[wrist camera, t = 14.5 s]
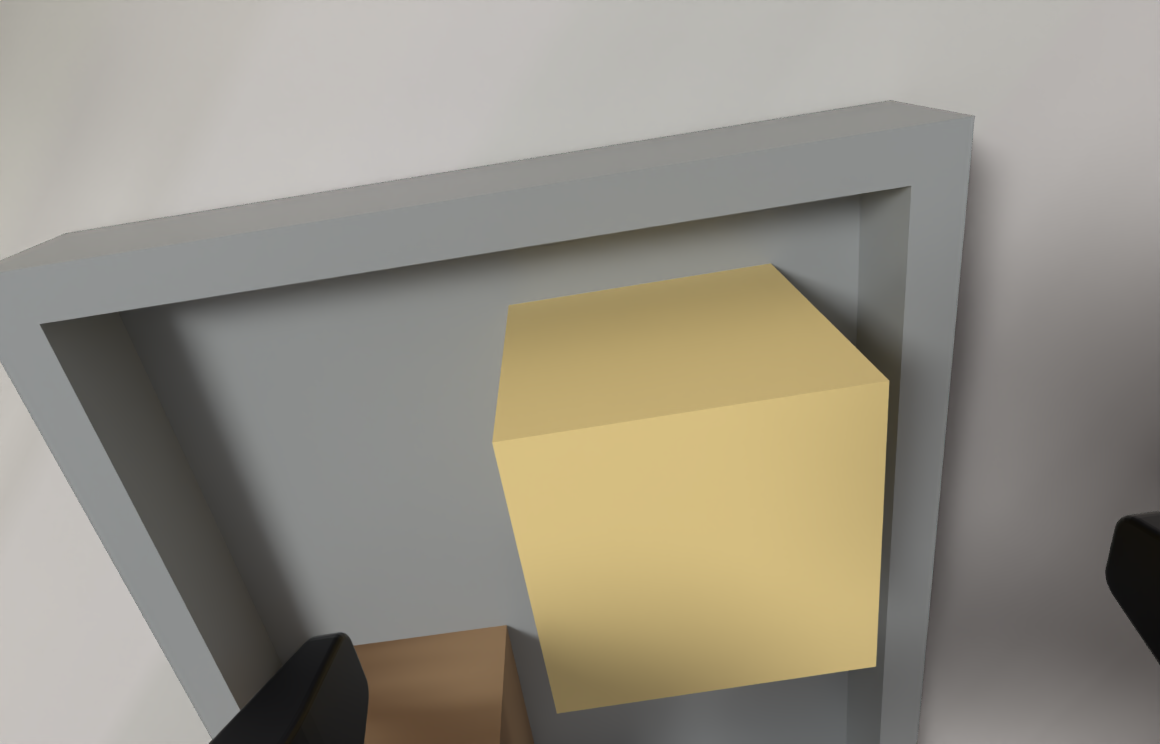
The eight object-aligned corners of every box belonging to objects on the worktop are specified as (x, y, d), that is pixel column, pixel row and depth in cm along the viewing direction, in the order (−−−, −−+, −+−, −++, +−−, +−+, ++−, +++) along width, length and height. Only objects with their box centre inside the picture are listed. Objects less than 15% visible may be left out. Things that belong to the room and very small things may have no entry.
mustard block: (552, 516, 14) (556, 713, 10) (508, 305, 12) (492, 442, 8) (778, 481, 14) (876, 666, 10) (770, 263, 12) (888, 380, 8)
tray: (341, 817, 19) (314, 923, 17) (65, 233, 12) (-46, 279, 10) (863, 742, 19) (908, 839, 16) (890, 100, 12) (975, 116, 9)
